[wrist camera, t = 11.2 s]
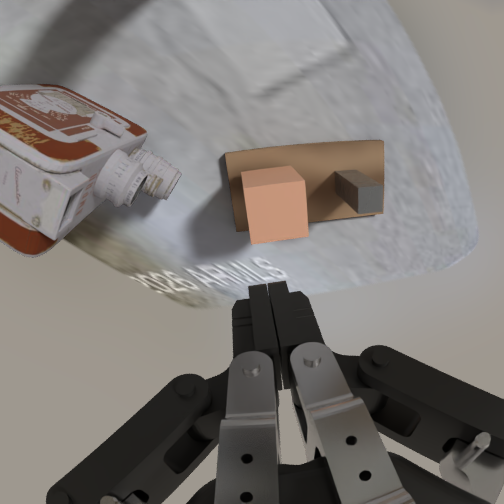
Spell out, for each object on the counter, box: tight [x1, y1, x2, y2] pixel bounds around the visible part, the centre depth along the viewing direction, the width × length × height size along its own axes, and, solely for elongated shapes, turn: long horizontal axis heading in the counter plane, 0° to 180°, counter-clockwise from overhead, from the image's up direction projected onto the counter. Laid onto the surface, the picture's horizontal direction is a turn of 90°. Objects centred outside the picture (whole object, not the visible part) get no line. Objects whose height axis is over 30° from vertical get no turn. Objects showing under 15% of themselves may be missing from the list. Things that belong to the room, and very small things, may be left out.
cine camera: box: [0, 84, 182, 258], centre depth 21 cm, size 9×19×20 cm, turn 56°
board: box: [225, 140, 384, 232], centre depth 33 cm, size 9×18×1 cm, turn 97°
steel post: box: [335, 169, 383, 214], centre depth 30 cm, size 3×3×7 cm
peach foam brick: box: [241, 166, 309, 245], centre depth 29 cm, size 5×5×7 cm
